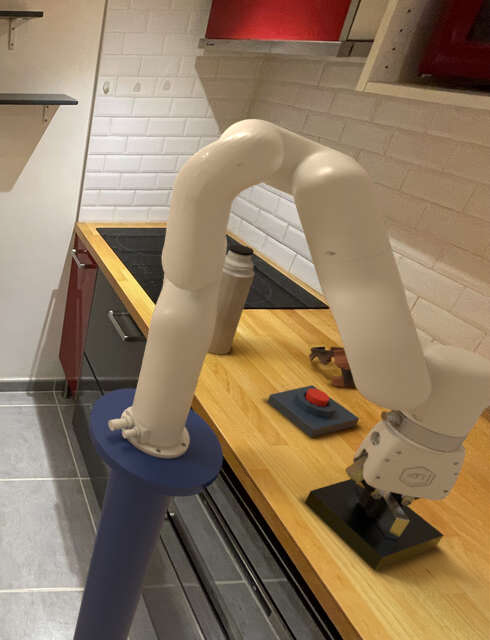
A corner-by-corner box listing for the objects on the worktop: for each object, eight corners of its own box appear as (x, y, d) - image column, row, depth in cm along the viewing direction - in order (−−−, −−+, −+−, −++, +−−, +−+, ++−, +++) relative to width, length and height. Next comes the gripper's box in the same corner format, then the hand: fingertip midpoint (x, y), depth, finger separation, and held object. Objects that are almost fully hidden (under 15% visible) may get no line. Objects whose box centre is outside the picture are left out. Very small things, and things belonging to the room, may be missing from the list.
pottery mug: (319, 387, 103) (314, 351, 104) (305, 379, 112) (300, 345, 113) (385, 388, 98) (379, 350, 99) (365, 379, 107) (360, 345, 108)
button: (317, 408, 91) (320, 402, 91) (300, 396, 95) (303, 390, 94) (330, 405, 92) (333, 399, 92) (314, 393, 95) (316, 387, 95)
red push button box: (310, 437, 89) (317, 422, 87) (267, 402, 98) (272, 387, 96) (355, 426, 92) (362, 411, 90) (309, 392, 101) (315, 378, 99)
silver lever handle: (397, 540, 68) (410, 520, 66) (384, 537, 68) (397, 517, 66) (364, 488, 75) (375, 468, 74) (353, 486, 76) (364, 466, 74)
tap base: (374, 569, 66) (382, 557, 65) (304, 502, 76) (310, 490, 75) (435, 547, 70) (444, 535, 68) (360, 485, 79) (367, 473, 78)
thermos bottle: (201, 331, 122) (227, 238, 110) (233, 344, 117) (265, 247, 105) (191, 344, 116) (218, 247, 105) (224, 358, 111) (257, 258, 100)
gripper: (375, 434, 63) (329, 520, 70) (516, 460, 59) (451, 548, 66) (347, 397, 69) (308, 479, 77) (472, 418, 66) (418, 502, 73)
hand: (375, 510), depth 71 cm, fingers closed
